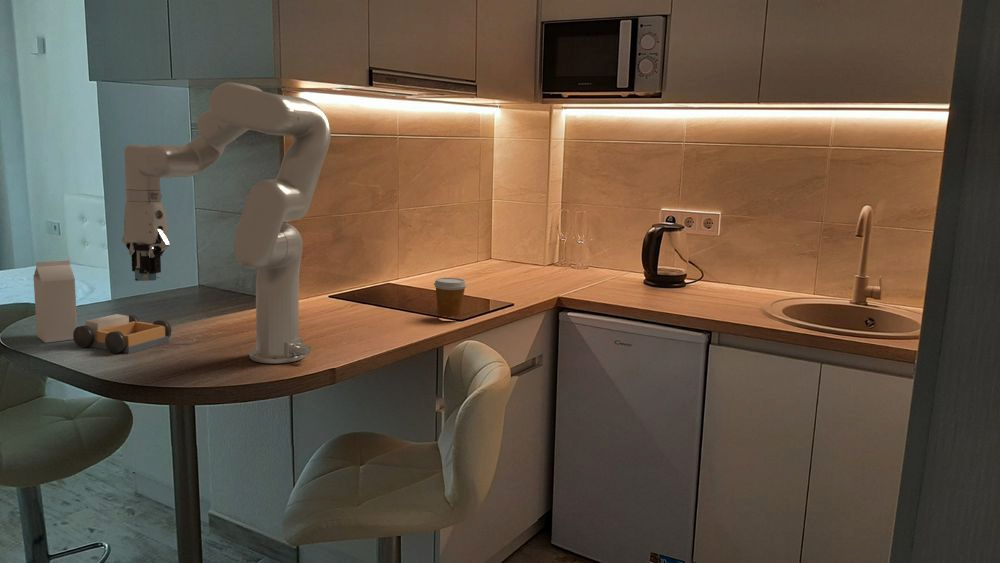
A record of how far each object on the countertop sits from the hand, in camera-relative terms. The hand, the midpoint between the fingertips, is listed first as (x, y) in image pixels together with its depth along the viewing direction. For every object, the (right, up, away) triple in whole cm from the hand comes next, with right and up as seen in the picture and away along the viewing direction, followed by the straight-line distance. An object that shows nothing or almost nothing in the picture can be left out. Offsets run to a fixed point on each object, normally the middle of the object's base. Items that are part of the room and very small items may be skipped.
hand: (146, 271), depth 183 cm
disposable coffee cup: (+71, -14, +40) cm, 83 cm away
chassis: (-5, -17, -2) cm, 18 cm away
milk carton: (-22, -17, 0) cm, 27 cm away
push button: (0, -2, 0) cm, 2 cm away
